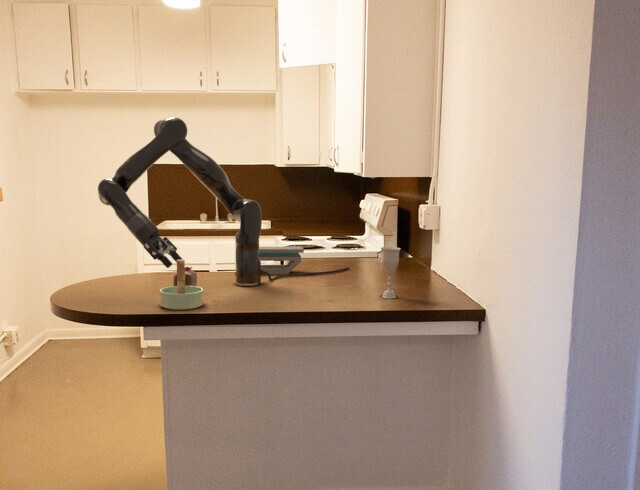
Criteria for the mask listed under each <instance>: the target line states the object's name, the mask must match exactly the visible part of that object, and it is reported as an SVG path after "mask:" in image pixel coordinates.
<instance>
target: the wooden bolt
mask: <svg viewBox="0 0 640 490" xmlns="http://www.w3.org/2000/svg"><path fill="white" fill-rule="evenodd" d="M185 261H186V260H185V259H183V260H177V262H176V273H177V294H185V267H186V266H185V265H186V263H185Z"/></svg>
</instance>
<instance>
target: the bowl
mask: <svg viewBox="0 0 640 490" xmlns="http://www.w3.org/2000/svg"><path fill="white" fill-rule="evenodd" d="M204 301H205V300H204V289H203V287H200V286H197V285H196V286H185V294H177V286H174V285H172V286H171V285H170V286H166V287H162V288H160V289H159V305H160V307H162V308H164V309H167V310H174V311H186V310H193V309H197V308H199V307H202V306H203V305H204Z"/></svg>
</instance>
